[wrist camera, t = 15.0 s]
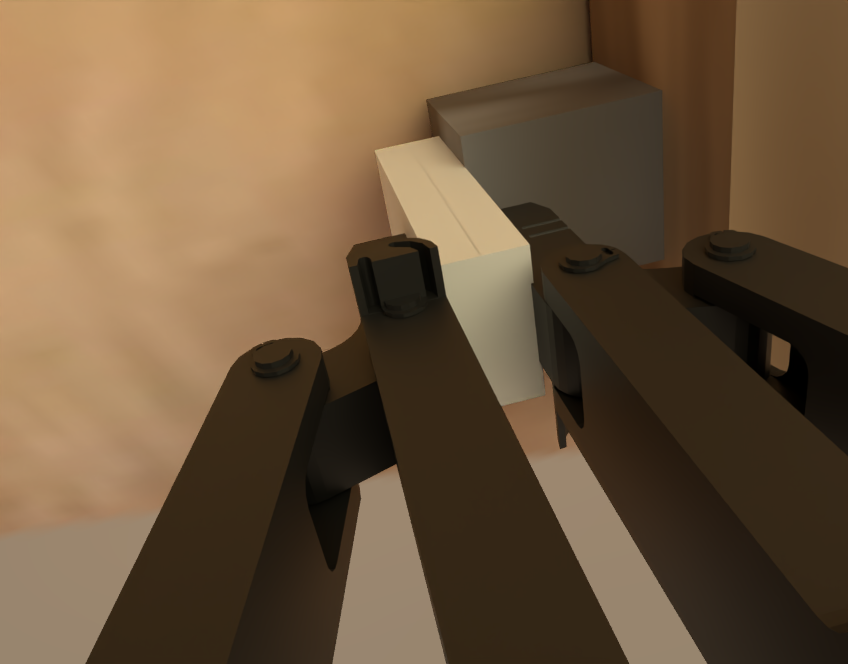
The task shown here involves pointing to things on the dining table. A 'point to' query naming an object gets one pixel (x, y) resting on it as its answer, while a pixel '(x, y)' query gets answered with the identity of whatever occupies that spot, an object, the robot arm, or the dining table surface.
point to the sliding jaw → (676, 129)
